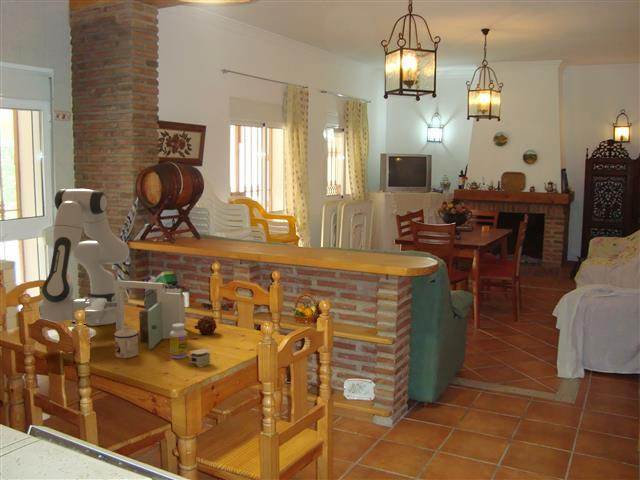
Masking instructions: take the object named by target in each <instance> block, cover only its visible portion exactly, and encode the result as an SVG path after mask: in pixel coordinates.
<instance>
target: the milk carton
mask: <svg viewBox="0 0 640 480" xmlns="http://www.w3.org/2000/svg"><path fill="white" fill-rule="evenodd" d="M166 293H181V319H182V324H184V325H185V326H186V305H185V302H186V301H185V298H186V297H185V295H184V293H183V292H182V289H181V288H166Z"/></svg>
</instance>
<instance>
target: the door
mask: <svg viewBox="0 0 640 480" xmlns="http://www.w3.org/2000/svg"><path fill="white" fill-rule="evenodd" d="M148 338H149V342H148V349H149V350H152V349H153V348H154V347H155V346H156V345H157V344H158V343H159V342H160V341H161V340H162V338H163V334H162V303H161V302H157V303H156V304H155V305H154V306H153V307H151V308H150V309H149V310H148Z"/></svg>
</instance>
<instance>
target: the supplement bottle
mask: <svg viewBox="0 0 640 480" xmlns="http://www.w3.org/2000/svg"><path fill="white" fill-rule="evenodd" d="M172 328H173V331H171V333H170V339H169V346H170V347H169V349H170V350H169V351H170V353H169V354H170V357H171V358H172V359H175V360H176V359H177V360H179V359H185V358H187V357H188V354H189V353H188V331H186V330H185V329H186V324H185V325H184V324H182V323H177V324H173V325H172Z"/></svg>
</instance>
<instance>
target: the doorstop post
mask: <svg viewBox="0 0 640 480" xmlns="http://www.w3.org/2000/svg"><path fill="white" fill-rule="evenodd" d="M138 317H139V342H140V343H141V344H142V343H143V344H146V343H148V344H149V338H148V310H146V309H142V310H139V311H138Z"/></svg>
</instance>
